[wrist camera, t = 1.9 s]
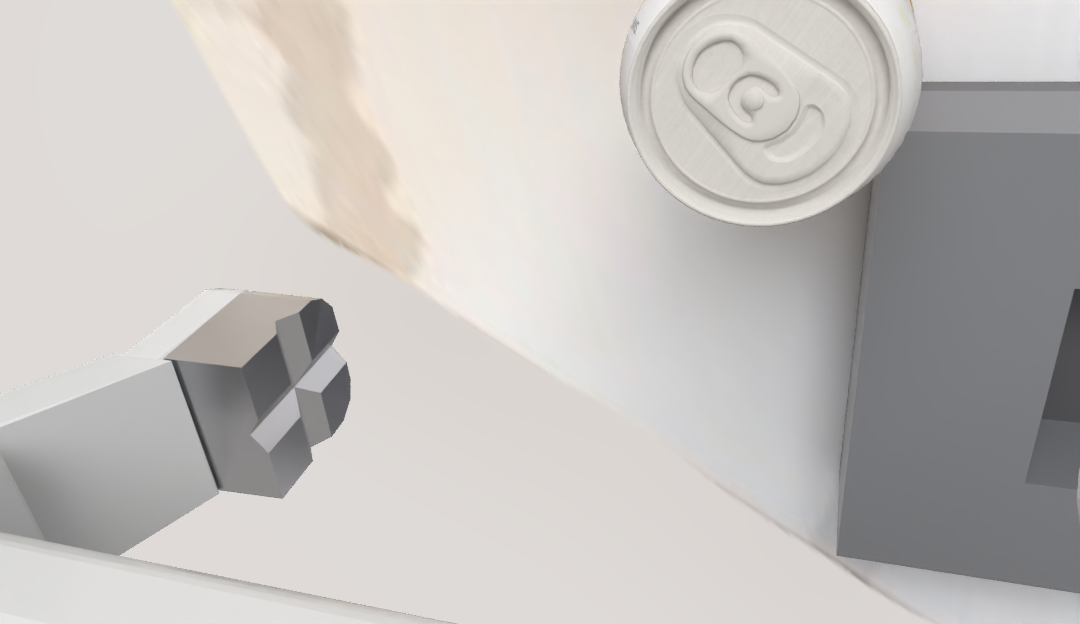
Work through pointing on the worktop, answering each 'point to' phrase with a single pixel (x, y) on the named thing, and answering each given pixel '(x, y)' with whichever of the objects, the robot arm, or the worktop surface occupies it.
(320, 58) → the worktop surface
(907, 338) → the can dock
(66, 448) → the robot arm
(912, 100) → the beer can
